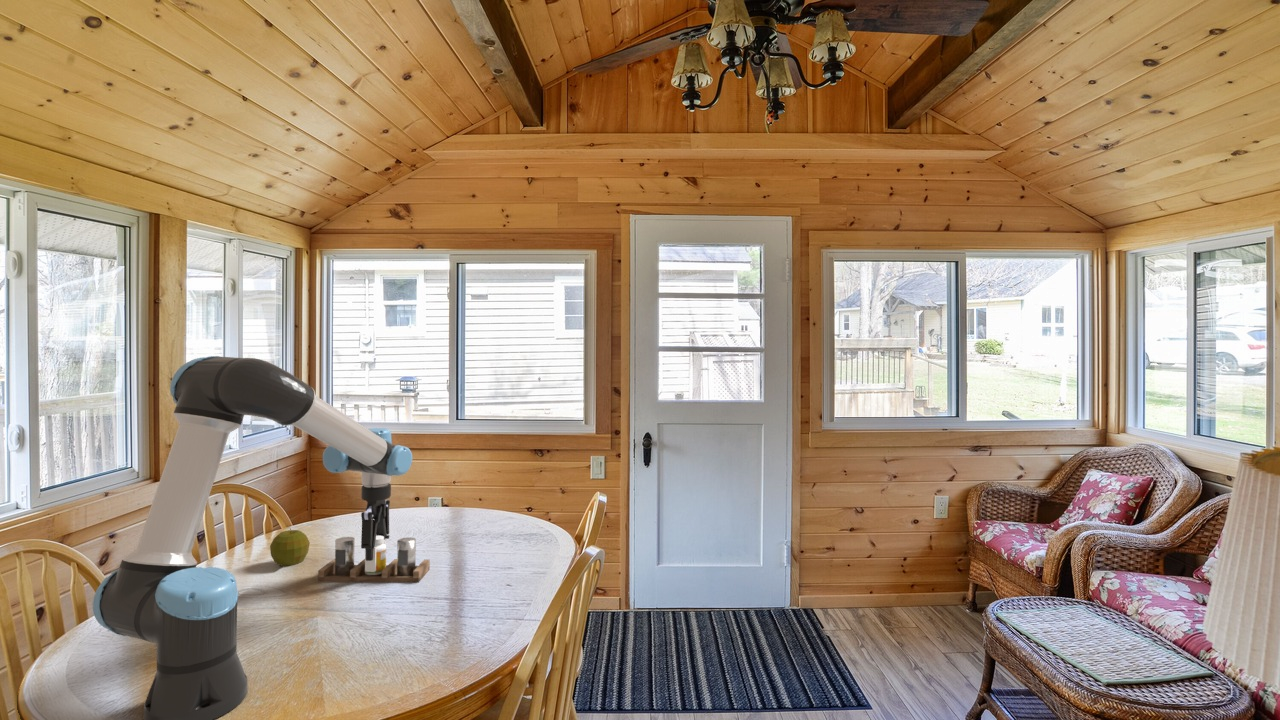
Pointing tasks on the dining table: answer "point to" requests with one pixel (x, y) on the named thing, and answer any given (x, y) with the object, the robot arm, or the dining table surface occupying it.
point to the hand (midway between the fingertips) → (375, 566)
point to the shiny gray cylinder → (344, 556)
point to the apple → (289, 547)
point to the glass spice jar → (406, 556)
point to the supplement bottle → (379, 556)
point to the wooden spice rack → (359, 575)
